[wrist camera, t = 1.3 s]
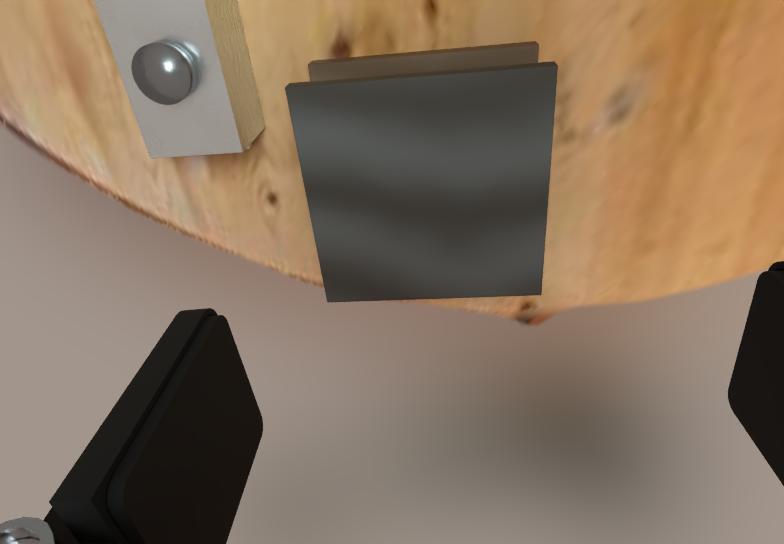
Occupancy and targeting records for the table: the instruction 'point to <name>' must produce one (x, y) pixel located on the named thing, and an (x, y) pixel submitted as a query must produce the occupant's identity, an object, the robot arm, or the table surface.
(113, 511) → the robot arm
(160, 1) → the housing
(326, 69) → the stand
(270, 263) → the table surface
